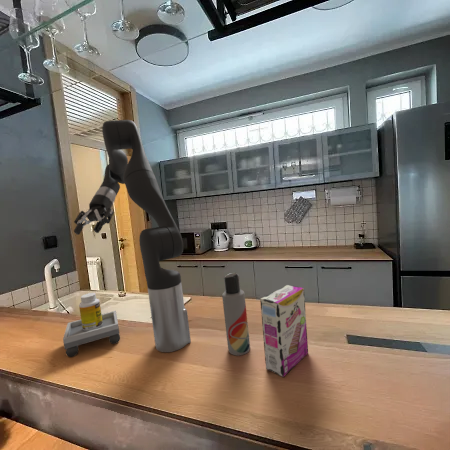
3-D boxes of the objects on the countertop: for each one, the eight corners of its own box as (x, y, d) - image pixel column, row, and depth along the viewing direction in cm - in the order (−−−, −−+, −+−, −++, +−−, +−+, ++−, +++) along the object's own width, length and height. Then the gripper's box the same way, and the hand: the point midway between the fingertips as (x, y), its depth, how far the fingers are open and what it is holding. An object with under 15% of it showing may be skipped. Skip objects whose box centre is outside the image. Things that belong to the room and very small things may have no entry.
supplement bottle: (100, 329, 77) (95, 296, 76) (80, 333, 76) (74, 299, 75) (105, 321, 82) (100, 290, 82) (86, 325, 81) (81, 293, 80)
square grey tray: (118, 327, 88) (115, 310, 87) (120, 342, 77) (118, 323, 76) (70, 340, 82) (67, 322, 81) (66, 359, 71) (62, 339, 70)
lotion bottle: (249, 356, 63) (240, 276, 62) (226, 355, 65) (217, 277, 63) (251, 343, 69) (243, 270, 67) (230, 343, 70) (222, 271, 68)
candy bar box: (284, 379, 54) (277, 303, 53) (265, 369, 58) (258, 298, 56) (310, 353, 62) (304, 287, 61) (291, 346, 66) (286, 283, 64)
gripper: (82, 195, 103) (62, 227, 93) (113, 191, 100) (96, 224, 89) (94, 208, 109) (76, 239, 99) (123, 205, 105) (108, 237, 95)
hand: (86, 232), depth 94 cm, fingers open, 8 cm apart
